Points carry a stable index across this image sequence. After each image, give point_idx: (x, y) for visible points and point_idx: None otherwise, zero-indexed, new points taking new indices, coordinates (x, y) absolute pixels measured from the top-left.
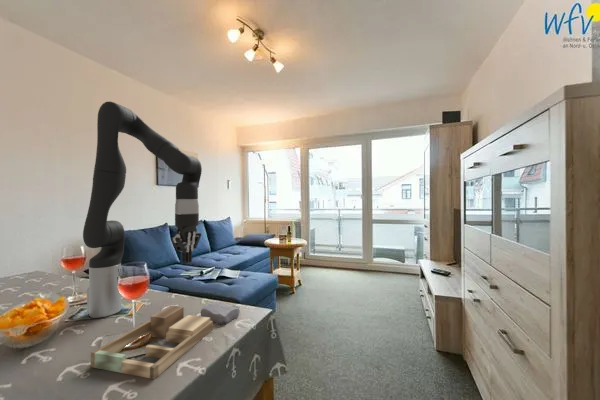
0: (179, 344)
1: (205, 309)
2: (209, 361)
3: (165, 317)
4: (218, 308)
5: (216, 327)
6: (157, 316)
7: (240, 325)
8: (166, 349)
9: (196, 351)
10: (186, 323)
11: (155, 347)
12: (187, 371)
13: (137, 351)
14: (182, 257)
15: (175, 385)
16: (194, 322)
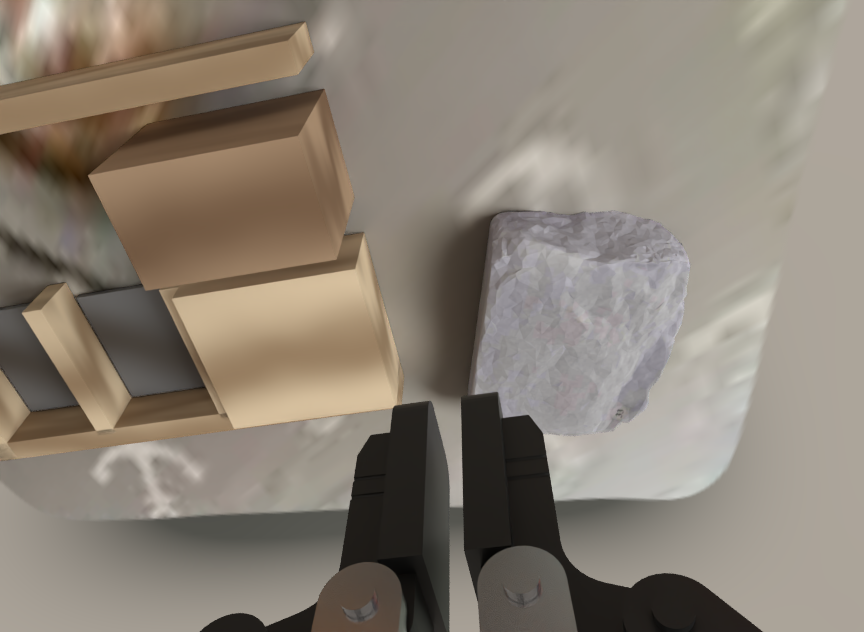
0: (146, 426)
1: (486, 299)
2: (210, 508)
3: (154, 286)
4: (538, 357)
5: (427, 379)
6: (123, 222)
7: None
8: (85, 409)
9: (221, 436)
10: (267, 346)
11: (55, 358)
12: (125, 485)
13: (32, 208)
14: (354, 503)
15: (63, 499)
16: (301, 375)
